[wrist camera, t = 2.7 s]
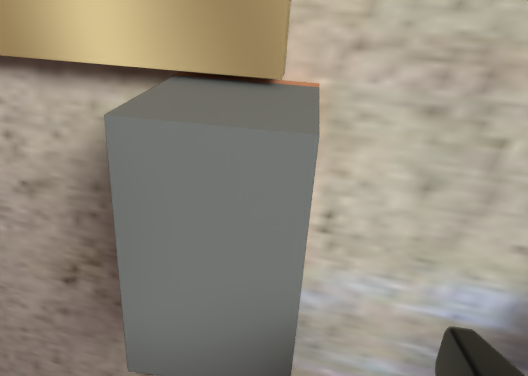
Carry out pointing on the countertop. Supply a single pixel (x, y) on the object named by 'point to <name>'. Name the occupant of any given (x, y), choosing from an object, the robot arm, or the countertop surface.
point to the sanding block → (212, 221)
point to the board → (152, 34)
